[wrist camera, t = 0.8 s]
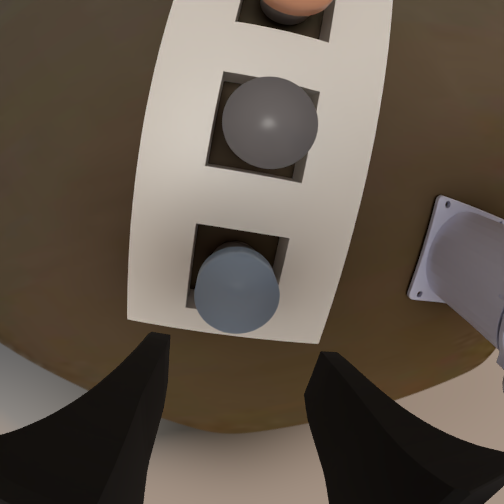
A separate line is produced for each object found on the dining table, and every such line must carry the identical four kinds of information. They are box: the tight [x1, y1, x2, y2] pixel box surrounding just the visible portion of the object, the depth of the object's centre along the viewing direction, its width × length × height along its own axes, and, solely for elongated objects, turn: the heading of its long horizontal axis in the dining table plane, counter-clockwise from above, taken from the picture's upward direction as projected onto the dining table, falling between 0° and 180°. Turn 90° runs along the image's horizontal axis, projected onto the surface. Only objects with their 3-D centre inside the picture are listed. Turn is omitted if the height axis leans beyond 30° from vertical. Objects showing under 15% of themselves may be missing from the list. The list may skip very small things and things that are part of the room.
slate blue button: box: [194, 241, 280, 334], centre depth 16 cm, size 4×4×4 cm
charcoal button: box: [222, 76, 318, 169], centre depth 14 cm, size 4×4×4 cm
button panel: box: [127, 0, 393, 344], centre depth 16 cm, size 12×24×2 cm, turn 169°
